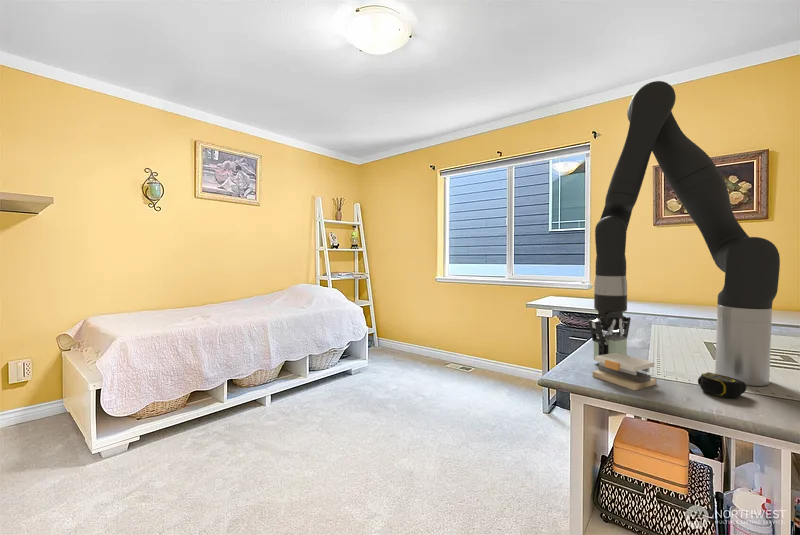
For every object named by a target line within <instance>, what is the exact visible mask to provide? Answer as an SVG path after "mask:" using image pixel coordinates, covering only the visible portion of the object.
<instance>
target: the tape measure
mask: <svg viewBox="0 0 800 535" xmlns="http://www.w3.org/2000/svg"><path fill="white" fill-rule="evenodd" d="M697 384H698V385H699V386H700V388H701V390H702V391H704V392H706V393H709V394H711V395H714V396H717V397H722V398H726V397H727V398H738V397H741V395H742V394H744V393H745V392H746V391H747V385H746V384H745V383H744V382H743V381H740V380H738V379H735V378H731V377H727V376H723V375H718V374H715V372H714V373H713V372H706V373H701V375H700V376H699V377H698V379H697Z"/></svg>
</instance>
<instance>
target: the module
mask: <svg viewBox="0 0 800 535" xmlns="http://www.w3.org/2000/svg"><path fill="white" fill-rule="evenodd" d="M596 336H597V337H598V335H597V334H596ZM603 338H604V339H605V335H603ZM627 343H628V337H625V336H619V335H616V334H612V336H611V337H609V342H608V354H610V353H619V354H623V355H627V356H628V353H627V352H628V350H627V349H628V344H627ZM595 356H599V344H598V343H597V342H595V341H593V361H595Z"/></svg>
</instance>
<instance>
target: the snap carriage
mask: <svg viewBox="0 0 800 535" xmlns="http://www.w3.org/2000/svg"><path fill="white" fill-rule="evenodd" d="M594 361H596V362H599V365H602V366H605V367H607V368H610V369H614V370H617V371H618V370H619V371H622V372H625V373H629V374H632V375H637V372H640V371H642V372H645V373H649V372H650V369H651V368H655V363H656V362H654V361H650V360H646V359H643V358H638V357H634V356H630V355H628V354H627V355H623V354H619V353H610V354H605V355H600V356H595V360H594ZM599 365H598V366H599Z"/></svg>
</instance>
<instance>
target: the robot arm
mask: <svg viewBox="0 0 800 535" xmlns="http://www.w3.org/2000/svg"><path fill="white" fill-rule="evenodd" d="M676 96H677V95H676V91H675V89H674V87H673V86H672V85H671V84H670V83H668V82H666V81H662V80H655V81H651V82H648V83H646V84H643V86H641V87H640V88H639V89H638V90H637V91H636V92H635V93H634V94H633V96H632V98H631V99H630V102H629V105H628V108H627V112H626V115H627V120H628V122H629V125H628V130H627V134H626V138H625V142H624V145H623V147H622V150H621V153H620V156H619V157H618V160H617V163H616V166H615V168H614V170H613V173H612V176H611V180H610V182H609V185H608V189H607V192H606V195H605V202H604V203H605V204H604V206H603V211H602V213H601V216H600V219H599V220H598V222H597V223H596V226H595V229H594V230H595V231H594V237H595V238H594V239H595V240H594V242H595V252H596V253H595V254H596V256H595V278H594V284H593V285H594V290H593V291H594V292H593V293H594V294H593V295H594V296H593V298H594V300H593V301H594V302H593V304H594V307H593V308H594V310H595V311H597V317H596V319H589V321H588V325H589V330H590V334H591V341H592V342H594V341H595V342H597V343H598V344H599V356H600V355H605V354H608V342H609V337H611V336H612V334H615V335H619V336H625V337H627V338H628V335H629V332H630V325H631V317H629V316H624V314H623V313H624V312H627V311H628V281H627V258H626V247H627V234H628V233H627V232H628V228H629V224H630V220H631V216H632V212H633V210H634V206H635V205H636V203H637V200H638V197H639V195H640V191H641V189H642V186H643V182H644V178H645V175H646V172H647V168H648V165H649V161H650V157H651V154H653V156H654V158H655V160H656V162H657V163H658V166H659V168H660V170H661V171H662V173H663V175H664V177H665V178H666V181H667V182H668V185H670V187H671V189H672V191H673V192H674V194H675V195H676V197H677V199H678V200H679V201H680V203H681V204H682V206H683V207H684V209H685V211H686V212H687V214H688V215H689V217H690V218H691V220H692V221H693V222H694V224H695V225H696V227H697V228H698V230H699V232H700V233H701V235H702V237H703V240H704V242H705V244H706V246H707V248H708V250H709V253H710V256H711V258H712V260H713V261H714V264H715V265H716V267H717V268H718V269H719V270H721V272H724V273H725V274H724V285H723V288H722V289H721V291H720V292H719V293H718V295H717V302H716V303H717V307H716V309H717V310H716V343H715V368H714V369H715V370H714V374H718V375H723V376H727V377H731V378H735V379H738V380H740V381H743V382H744V383H745V384H746V386H757V387H763V386H769V385H770V371H771V343H772V318H773V317H772V316H773V314H772V313H773V302H774V299H775V298H776V296H777V294H778V290H779V278H780V269H781V258H780V252H779V250H778V247H776V244H774V243H773V242H772V241H771V240H768V239H767V238H764V237H758V236H749V235H748V234H747V233H746V231H745V230H744V229H743V227H742V226H741V224H740V223H739V221H738V219H736V216H735V214H734V212H733V209H732V205H731V204H732V203H731V200H730V195H729V194H730V193H729V190H728V186H727V183H726V180H725V178H724V176H723V175H722V173H721V172H720V170H719V168H718V167H717V165H716V164H715V162H714V160H712V158H711V157H710V156H709V155H708V154H707V153H706V151H704V150H703V149H702V148H701V147H700V146H698V145H697V144H696V143H695V142H694V141H692V140H691V139H690V138H689V137H687V135H686V134H685V133H684V131H682V128H680V125H679V124H678V122H677V120H676V118H675V116H674V114H673V111H672V110H673V109H674V106H675V103H676ZM596 334H597V335H598V337H597V336H596ZM603 335H605V339H604V338H603Z"/></svg>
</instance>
